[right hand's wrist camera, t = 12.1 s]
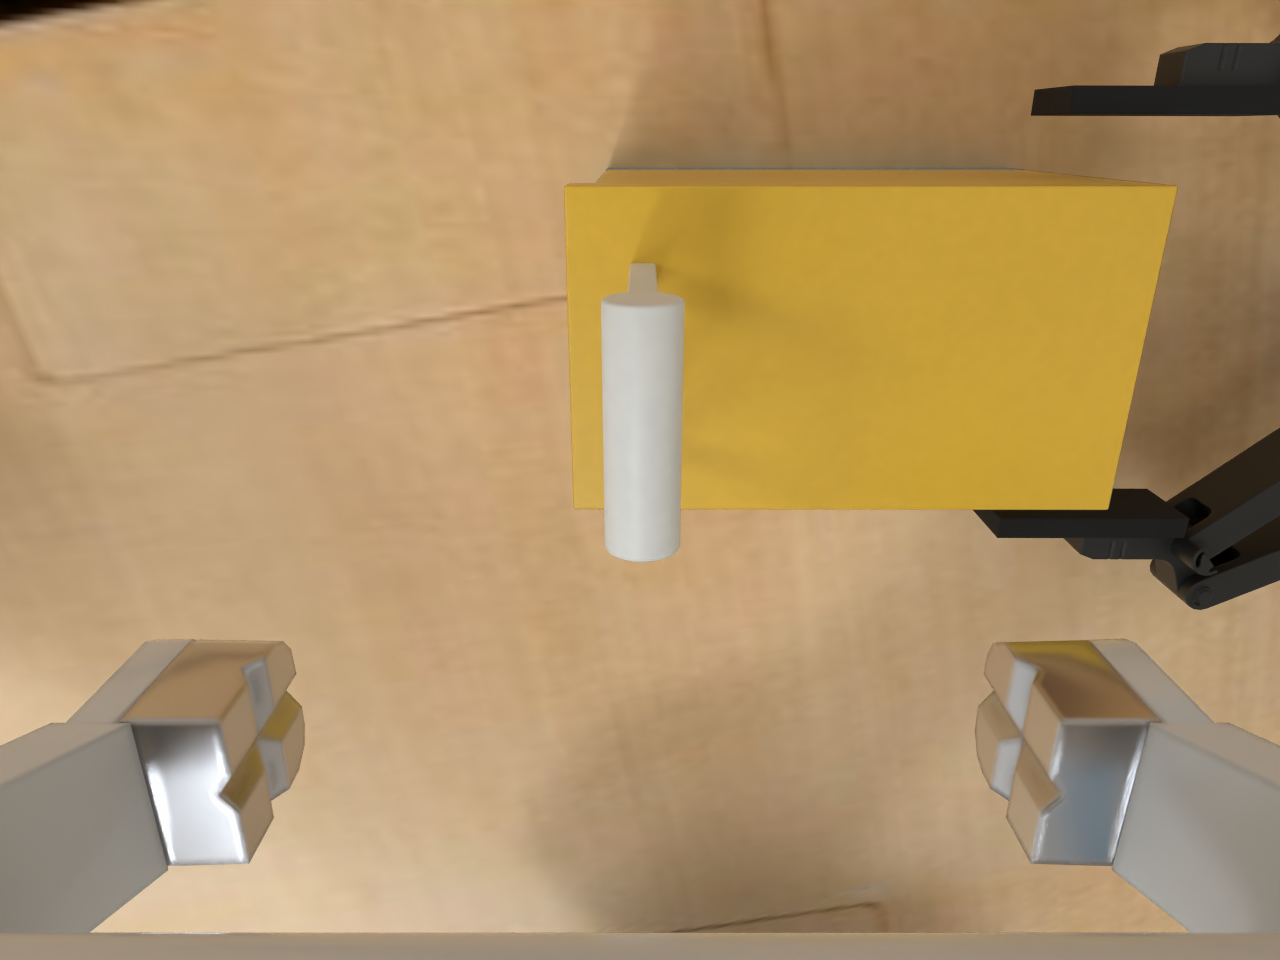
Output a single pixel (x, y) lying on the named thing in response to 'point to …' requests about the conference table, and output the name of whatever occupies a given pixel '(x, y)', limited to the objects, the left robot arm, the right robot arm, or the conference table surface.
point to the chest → (839, 176)
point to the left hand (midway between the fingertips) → (1013, 324)
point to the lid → (852, 346)
